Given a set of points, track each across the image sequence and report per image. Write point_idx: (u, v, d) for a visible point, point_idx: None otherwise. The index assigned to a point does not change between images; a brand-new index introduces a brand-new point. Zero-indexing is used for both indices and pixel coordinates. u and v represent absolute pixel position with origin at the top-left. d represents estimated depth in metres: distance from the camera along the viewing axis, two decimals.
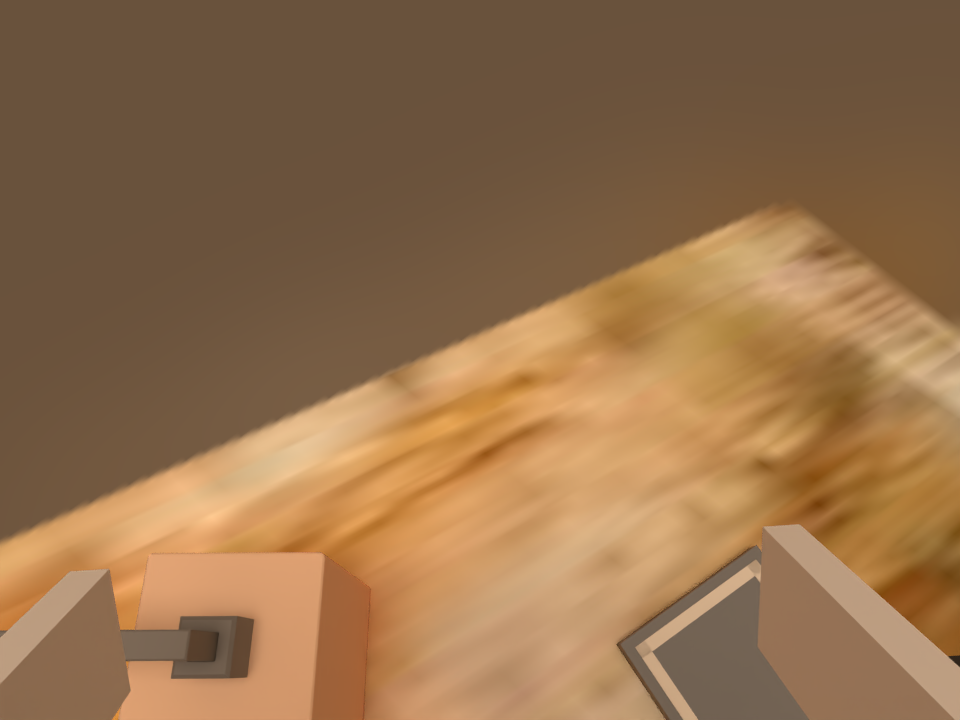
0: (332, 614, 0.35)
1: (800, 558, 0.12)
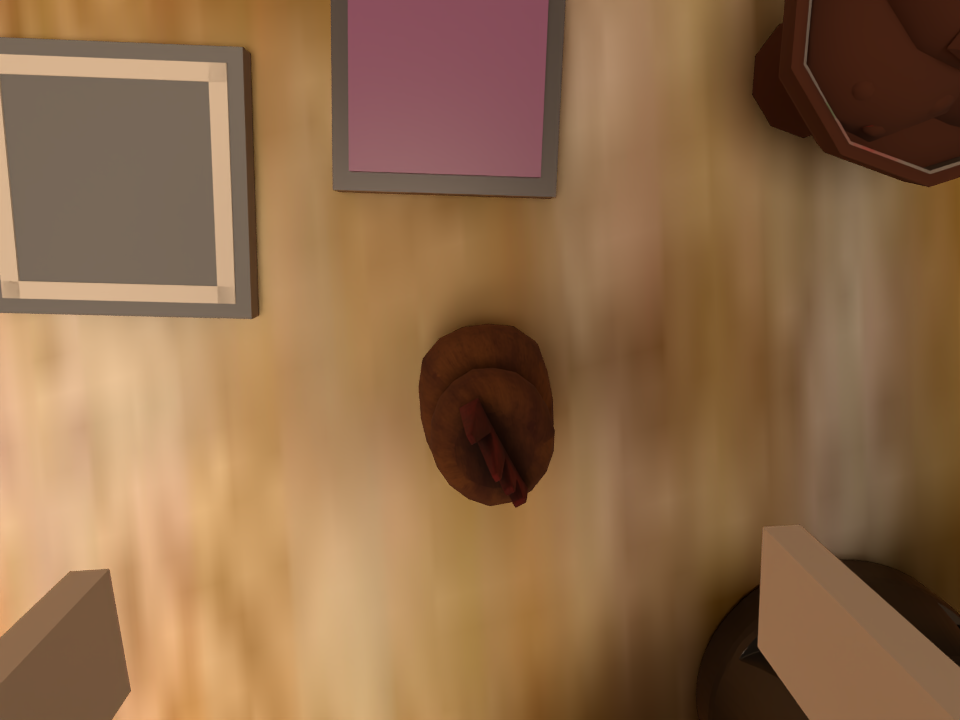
0: None
1: (800, 559, 0.12)
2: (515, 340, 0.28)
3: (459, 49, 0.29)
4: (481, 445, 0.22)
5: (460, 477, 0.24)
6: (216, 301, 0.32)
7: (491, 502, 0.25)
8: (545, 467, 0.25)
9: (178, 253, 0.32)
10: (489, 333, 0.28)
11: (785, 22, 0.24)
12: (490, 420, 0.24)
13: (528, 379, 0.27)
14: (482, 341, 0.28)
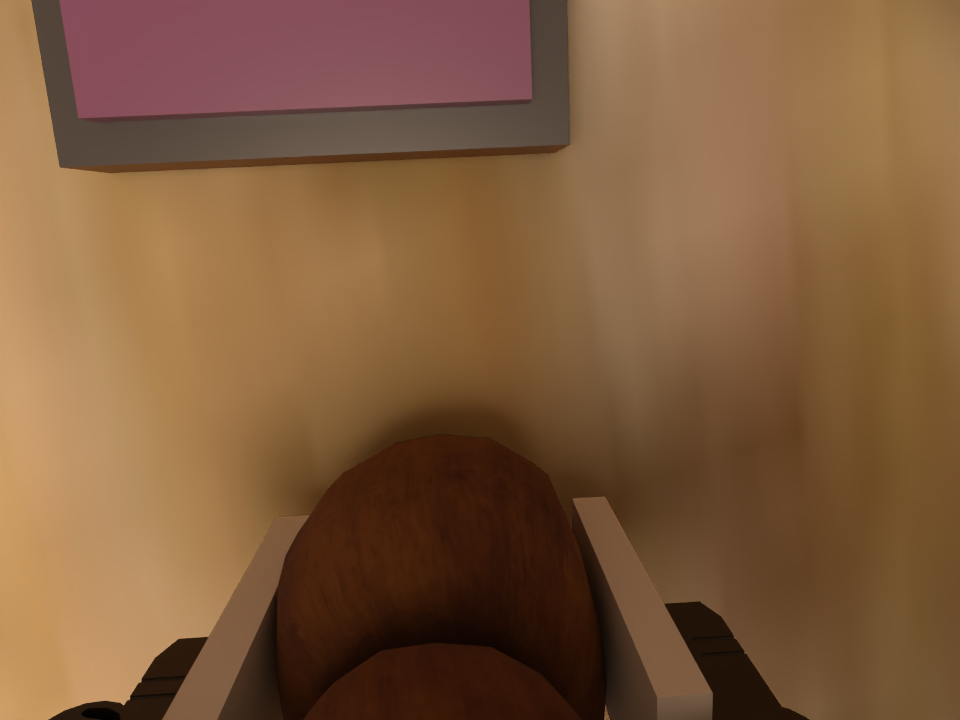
0: None
1: (587, 523, 0.14)
2: (498, 513, 0.11)
3: None
4: None
5: None
6: None
7: None
8: None
9: None
10: (429, 500, 0.11)
11: None
12: None
13: (539, 629, 0.10)
14: (411, 532, 0.10)
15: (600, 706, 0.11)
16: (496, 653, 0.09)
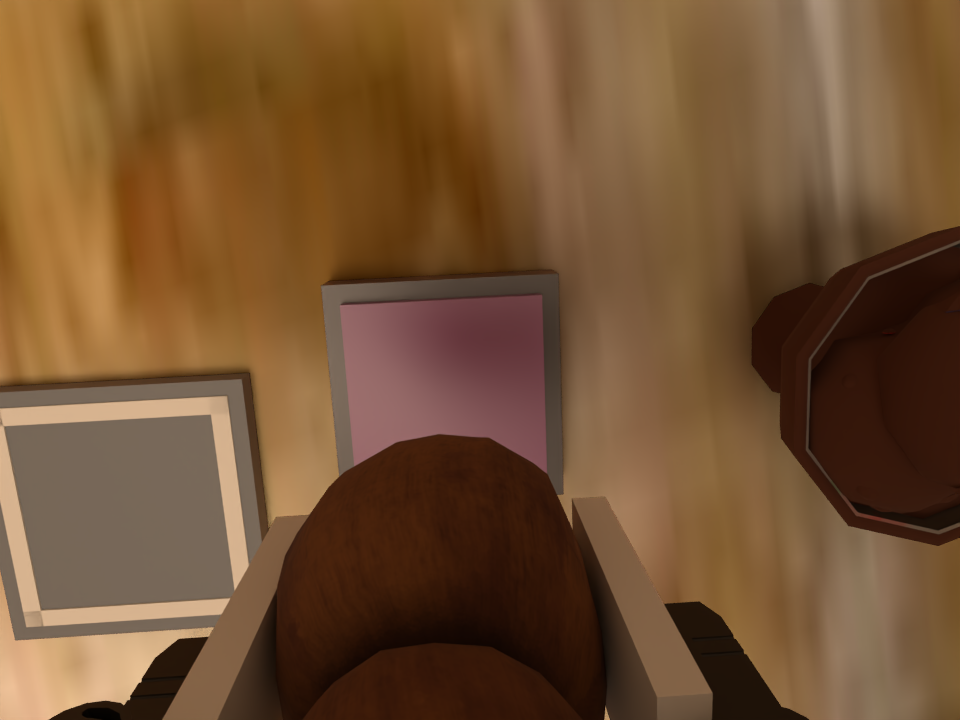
0: None
1: (587, 524, 0.14)
2: (498, 513, 0.11)
3: (457, 375, 0.29)
4: None
5: None
6: None
7: None
8: None
9: (194, 571, 0.32)
10: (429, 499, 0.11)
11: (784, 394, 0.24)
12: None
13: (539, 629, 0.10)
14: (411, 532, 0.10)
15: (600, 706, 0.11)
16: (496, 653, 0.09)
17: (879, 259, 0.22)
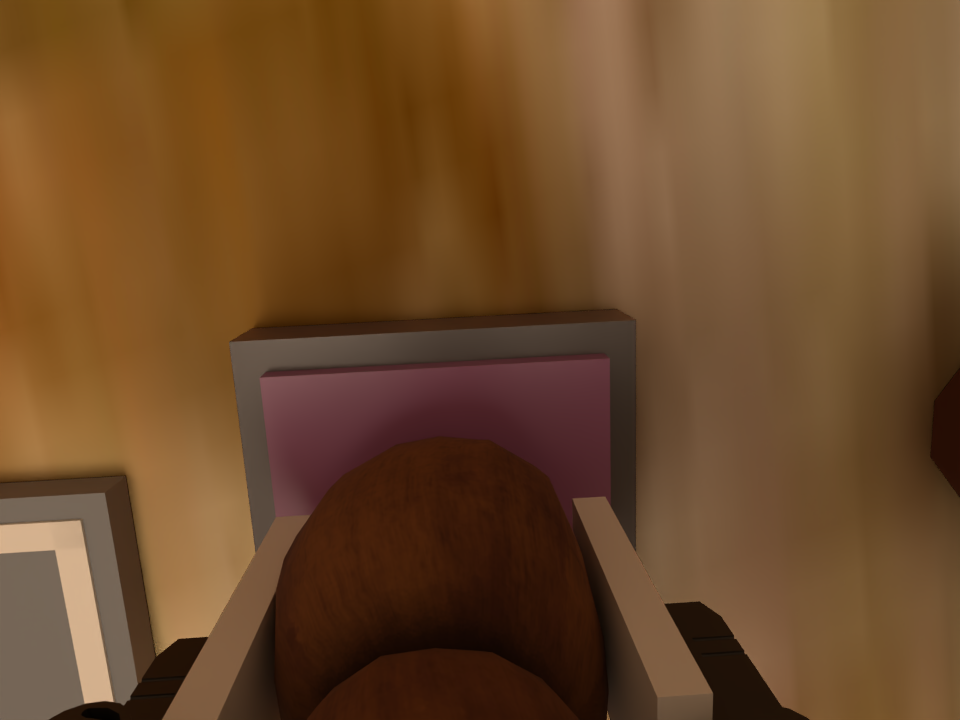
0: None
1: (587, 523, 0.14)
2: (499, 516, 0.11)
3: None
4: None
5: None
6: None
7: None
8: None
9: None
10: (430, 503, 0.11)
11: None
12: None
13: (541, 634, 0.10)
14: (411, 536, 0.10)
15: (602, 711, 0.11)
16: (497, 659, 0.09)
17: None
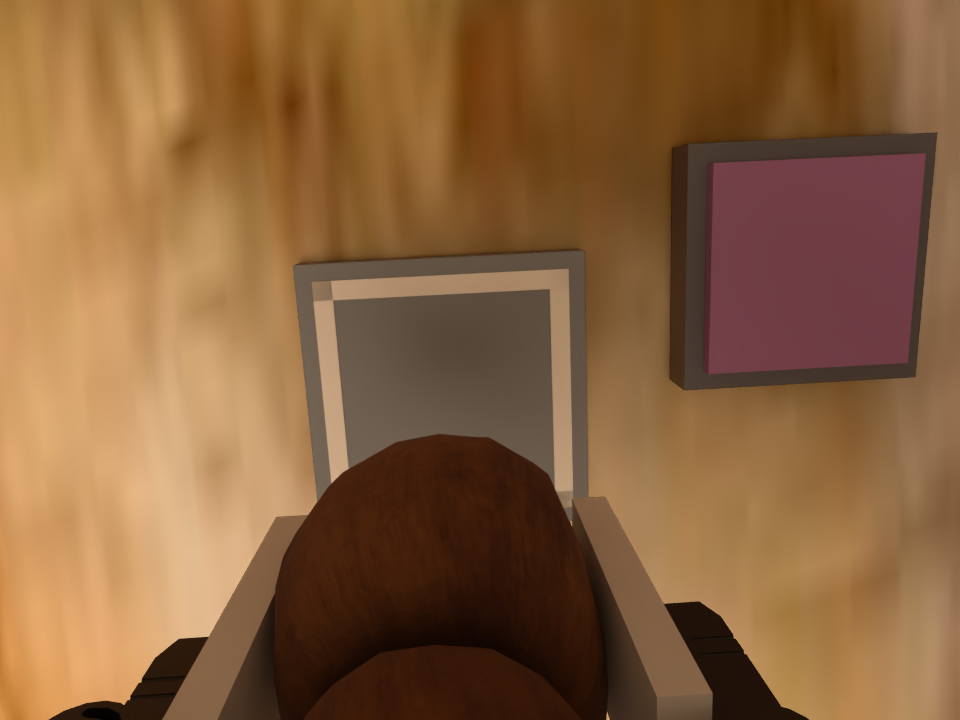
0: None
1: (587, 524, 0.14)
2: (499, 513, 0.11)
3: (827, 242, 0.27)
4: None
5: None
6: None
7: None
8: None
9: None
10: (429, 499, 0.11)
11: None
12: None
13: (541, 631, 0.10)
14: (411, 533, 0.10)
15: (602, 709, 0.11)
16: (497, 655, 0.09)
17: None
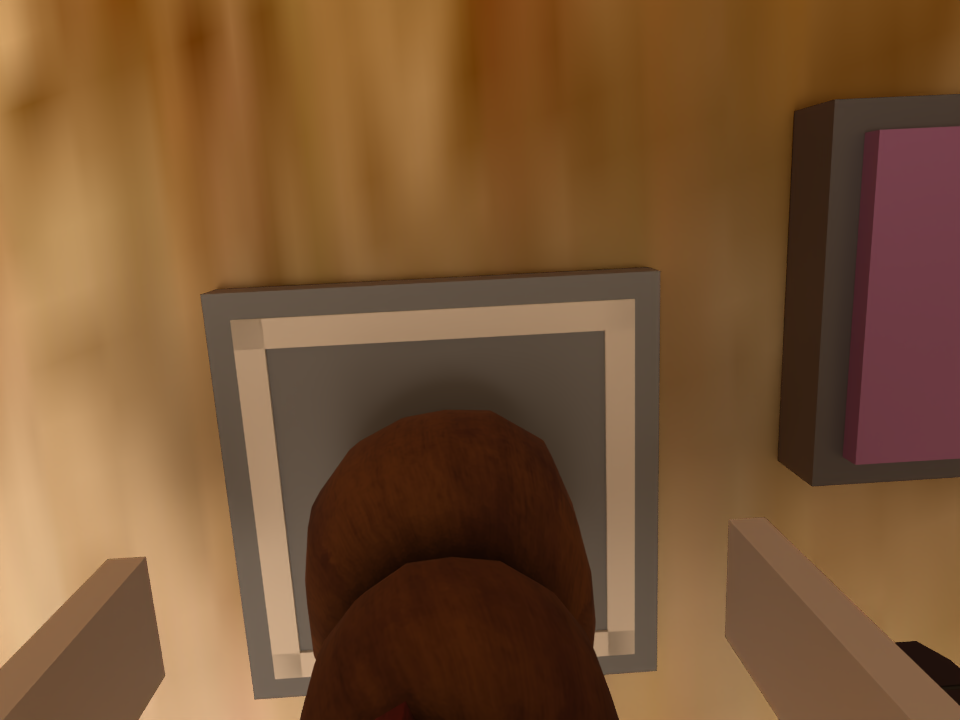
0: None
1: (762, 550, 0.13)
2: (502, 461, 0.13)
3: None
4: None
5: None
6: (606, 653, 0.20)
7: None
8: None
9: None
10: (443, 449, 0.13)
11: None
12: None
13: (539, 556, 0.12)
14: (428, 474, 0.12)
15: (590, 632, 0.13)
16: (504, 564, 0.11)
17: None
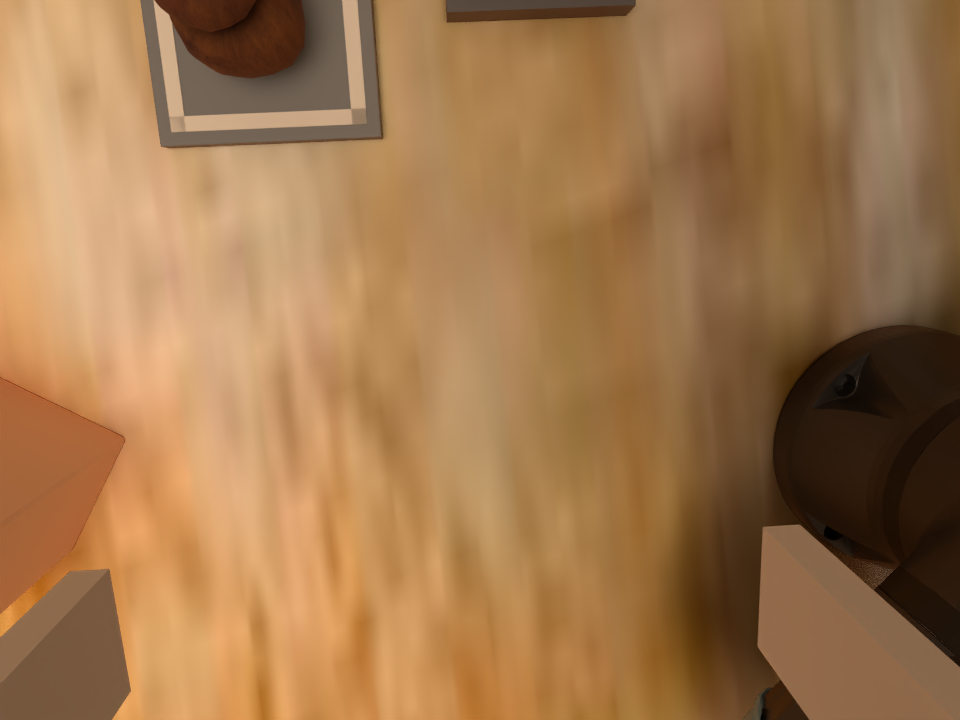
0: None
1: (800, 558, 0.12)
2: None
3: None
4: None
5: None
6: (351, 122, 0.38)
7: (190, 7, 0.27)
8: None
9: (316, 82, 0.37)
10: None
11: None
12: None
13: None
14: None
15: None
16: None
17: None
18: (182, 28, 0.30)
